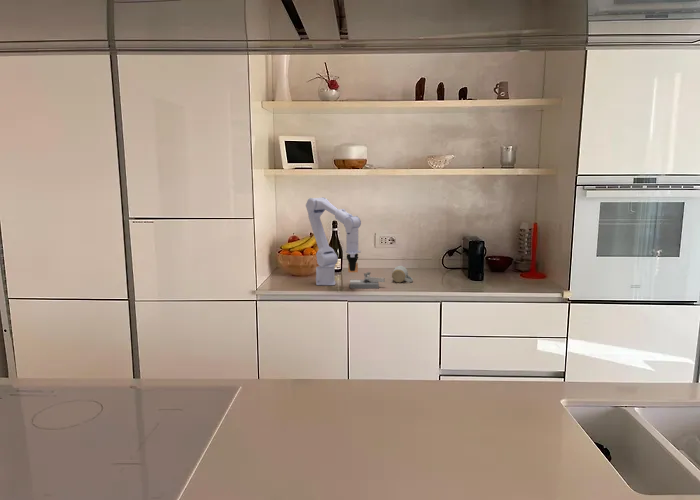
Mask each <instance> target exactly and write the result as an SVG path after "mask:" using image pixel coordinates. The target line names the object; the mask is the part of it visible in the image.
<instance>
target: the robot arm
mask: <svg viewBox="0 0 700 500" xmlns="http://www.w3.org/2000/svg"><path fill="white" fill-rule="evenodd" d="M305 208H306V210H307V213H308V214H307V215H308V221H309V223H310V226H311V230H312V233H313V235H314V238H315V241H316V246H317V249H318V250H317V252H316V254H315V256H316V263H317V265H318V266H316V267H315V282H316V284H315V285H316V286H335V285H336V283H337V282H336V280H335V279H336V277H335V267H336V264H338V259H339V258H338V255H337V253H336V252H335V250H334V249H333V247H331V246H330V245H329V242H328V239H327V236H326V232H325V230H324V226H323V224H322V221H321V216H322V215H323V214H324V212H325V211H327V212H328V213H330V214H332V215H334V218H335V220H337V221H338V222H340V223H341V224H343V226H344V228H345V234H346V244H345V245H346V246H345V247H346V249H345V253H346V260H347V262H348V263H349V267H350V271H355V267H356V263H358V262H357V261H358V259H359V253H361V251H362V250H359V228H360V227H361V225H362V220H361V219H360V217H359V216H358V215H354V216H353V214H352V213H349V212H347V210H346V209H345V208H337V207H336V206H335V205H334V204H332V203H331V202H330V201H329V199H328V198H326V197H323V196H322V197H310V198H309V197H308V199H307V200H306V203H305Z"/></svg>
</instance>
